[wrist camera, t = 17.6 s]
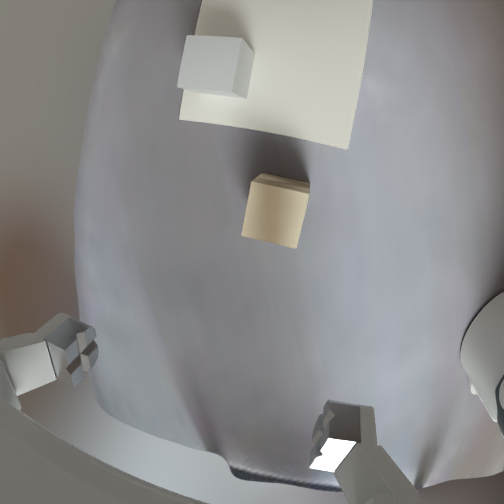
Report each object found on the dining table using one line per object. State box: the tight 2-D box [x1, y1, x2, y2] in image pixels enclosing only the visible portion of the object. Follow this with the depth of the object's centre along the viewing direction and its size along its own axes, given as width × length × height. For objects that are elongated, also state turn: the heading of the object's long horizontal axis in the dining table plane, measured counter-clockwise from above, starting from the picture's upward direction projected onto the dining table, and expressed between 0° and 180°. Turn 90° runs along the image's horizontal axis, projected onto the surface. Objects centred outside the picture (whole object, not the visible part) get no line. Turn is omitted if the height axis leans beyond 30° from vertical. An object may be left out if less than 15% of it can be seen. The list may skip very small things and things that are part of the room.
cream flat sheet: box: [179, 0, 373, 150], centre depth 23 cm, size 16×22×1 cm
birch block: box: [242, 173, 310, 249], centre depth 27 cm, size 4×4×6 cm
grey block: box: [177, 35, 255, 99], centre depth 24 cm, size 4×4×6 cm
